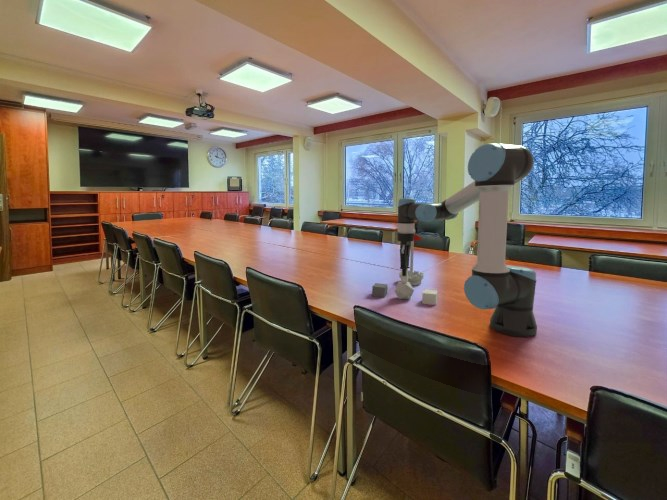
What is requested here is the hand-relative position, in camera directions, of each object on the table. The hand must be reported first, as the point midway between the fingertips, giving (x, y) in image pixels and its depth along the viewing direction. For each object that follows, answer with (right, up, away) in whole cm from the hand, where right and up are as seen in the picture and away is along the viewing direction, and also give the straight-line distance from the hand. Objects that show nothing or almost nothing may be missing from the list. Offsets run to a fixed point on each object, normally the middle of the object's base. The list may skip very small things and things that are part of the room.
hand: (404, 282), depth 156 cm
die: (0, -8, +1) cm, 8 cm away
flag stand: (+10, -3, +28) cm, 30 cm away
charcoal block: (-11, -7, +7) cm, 15 cm away
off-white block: (+11, -9, -4) cm, 14 cm away
